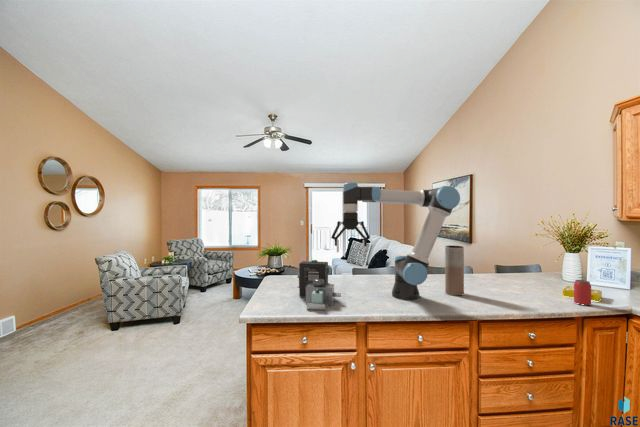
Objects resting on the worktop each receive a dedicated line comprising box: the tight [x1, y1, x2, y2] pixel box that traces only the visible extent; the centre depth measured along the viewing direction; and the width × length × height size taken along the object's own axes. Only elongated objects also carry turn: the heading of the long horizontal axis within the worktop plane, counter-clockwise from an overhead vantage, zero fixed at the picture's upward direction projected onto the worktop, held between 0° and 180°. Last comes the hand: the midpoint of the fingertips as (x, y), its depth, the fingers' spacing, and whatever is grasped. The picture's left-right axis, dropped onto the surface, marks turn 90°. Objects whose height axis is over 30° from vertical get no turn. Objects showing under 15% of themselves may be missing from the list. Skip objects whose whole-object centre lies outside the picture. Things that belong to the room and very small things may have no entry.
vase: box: [444, 245, 465, 296], centre depth 170 cm, size 10×10×28 cm
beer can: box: [573, 279, 592, 306], centre depth 149 cm, size 7×7×12 cm
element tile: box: [562, 285, 603, 301], centre depth 162 cm, size 15×15×5 cm
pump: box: [312, 289, 323, 304], centre depth 145 cm, size 5×6×8 cm
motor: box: [305, 279, 342, 312], centre depth 148 cm, size 18×16×12 cm
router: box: [296, 259, 331, 298], centre depth 167 cm, size 8×18×20 cm, turn 78°
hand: (350, 252), depth 152 cm, fingers open, 13 cm apart
